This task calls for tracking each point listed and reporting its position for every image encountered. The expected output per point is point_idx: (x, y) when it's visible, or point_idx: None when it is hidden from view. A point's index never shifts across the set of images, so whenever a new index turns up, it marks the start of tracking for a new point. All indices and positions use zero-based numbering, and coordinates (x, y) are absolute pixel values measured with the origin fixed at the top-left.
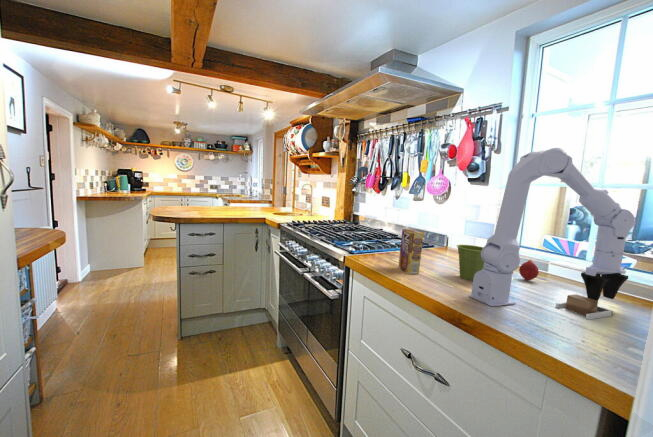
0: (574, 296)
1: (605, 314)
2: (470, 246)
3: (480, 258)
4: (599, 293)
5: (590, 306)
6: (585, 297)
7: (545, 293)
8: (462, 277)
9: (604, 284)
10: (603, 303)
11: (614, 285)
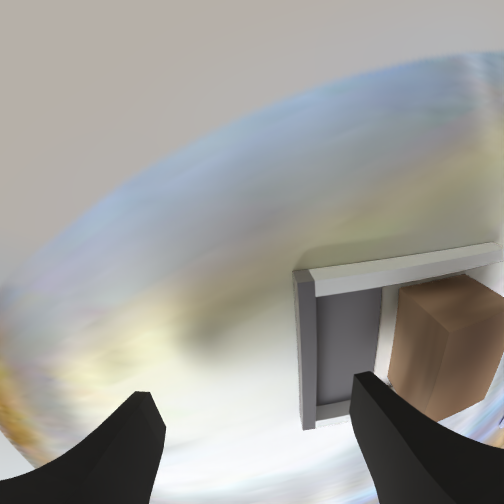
0: (476, 390)
1: (381, 265)
2: None
3: None
4: (410, 405)
5: (486, 299)
6: (440, 388)
7: (307, 482)
8: None
9: (448, 470)
10: (116, 399)
11: (111, 482)
